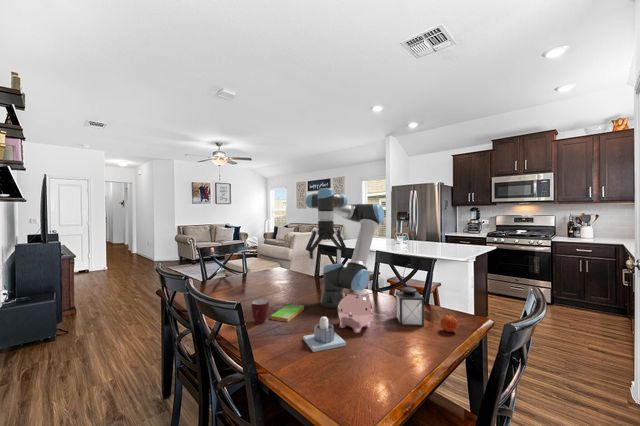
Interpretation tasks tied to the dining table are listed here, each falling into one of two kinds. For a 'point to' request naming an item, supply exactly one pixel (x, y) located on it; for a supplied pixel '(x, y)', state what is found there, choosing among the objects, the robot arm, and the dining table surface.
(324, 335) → the ring
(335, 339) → the block
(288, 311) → the game box
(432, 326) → the dining table surface
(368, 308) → the piggy bank
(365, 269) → the robot arm
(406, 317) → the lantern
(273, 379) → the dining table surface
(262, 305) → the mug
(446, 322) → the fruit
